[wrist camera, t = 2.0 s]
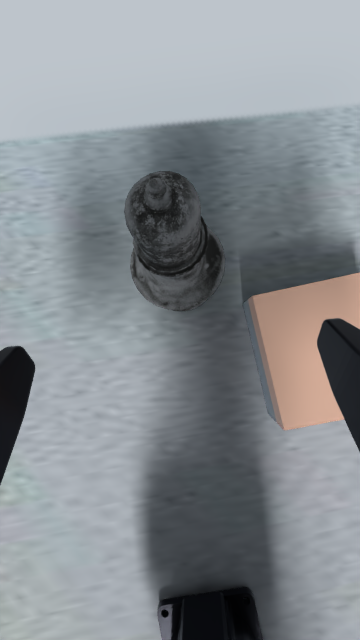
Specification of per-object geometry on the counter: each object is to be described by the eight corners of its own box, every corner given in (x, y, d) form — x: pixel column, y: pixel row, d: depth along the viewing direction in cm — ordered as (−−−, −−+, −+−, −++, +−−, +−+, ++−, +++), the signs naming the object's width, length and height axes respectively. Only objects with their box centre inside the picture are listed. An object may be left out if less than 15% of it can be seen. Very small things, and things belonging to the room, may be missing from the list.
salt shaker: (126, 281, 20) (20, 195, 8) (177, 223, 20) (145, 52, 8) (184, 331, 19) (162, 319, 8) (236, 271, 19) (296, 164, 8)
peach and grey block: (383, 391, 18) (427, 403, 15) (268, 413, 19) (284, 430, 15) (353, 279, 19) (388, 266, 15) (242, 303, 19) (252, 295, 16)
